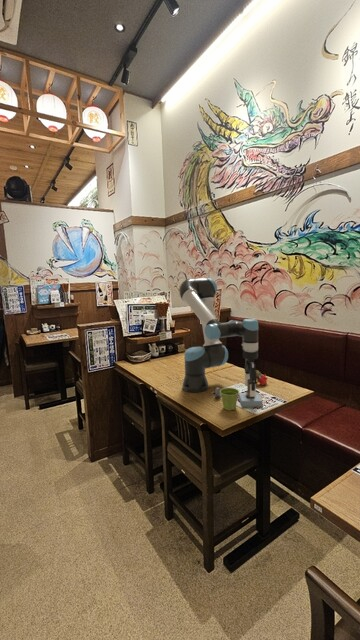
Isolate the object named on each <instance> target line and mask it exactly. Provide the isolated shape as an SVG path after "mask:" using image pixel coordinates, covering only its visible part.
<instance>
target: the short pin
mask: <svg viewBox="0 0 360 640" xmlns="http://www.w3.org/2000/svg"><path fill="white" fill-rule="evenodd" d="M221 389H222V388H221V387H218V386H216V387H214V398H215V399H220V398H221V399H222V396H221V393H220V390H221Z"/></svg>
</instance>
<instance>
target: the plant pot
mask: <svg viewBox="0 0 360 640" xmlns="http://www.w3.org/2000/svg"><path fill="white" fill-rule="evenodd" d="M220 389H221V390H220V393H221V402H222V406H223V407H222V408H223V409H224V410H226V411H233V410H234V411H235V410H236V409H237V401H238V397H239V393H240V390H239V389H237V388H234V387H224V388H220Z"/></svg>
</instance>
